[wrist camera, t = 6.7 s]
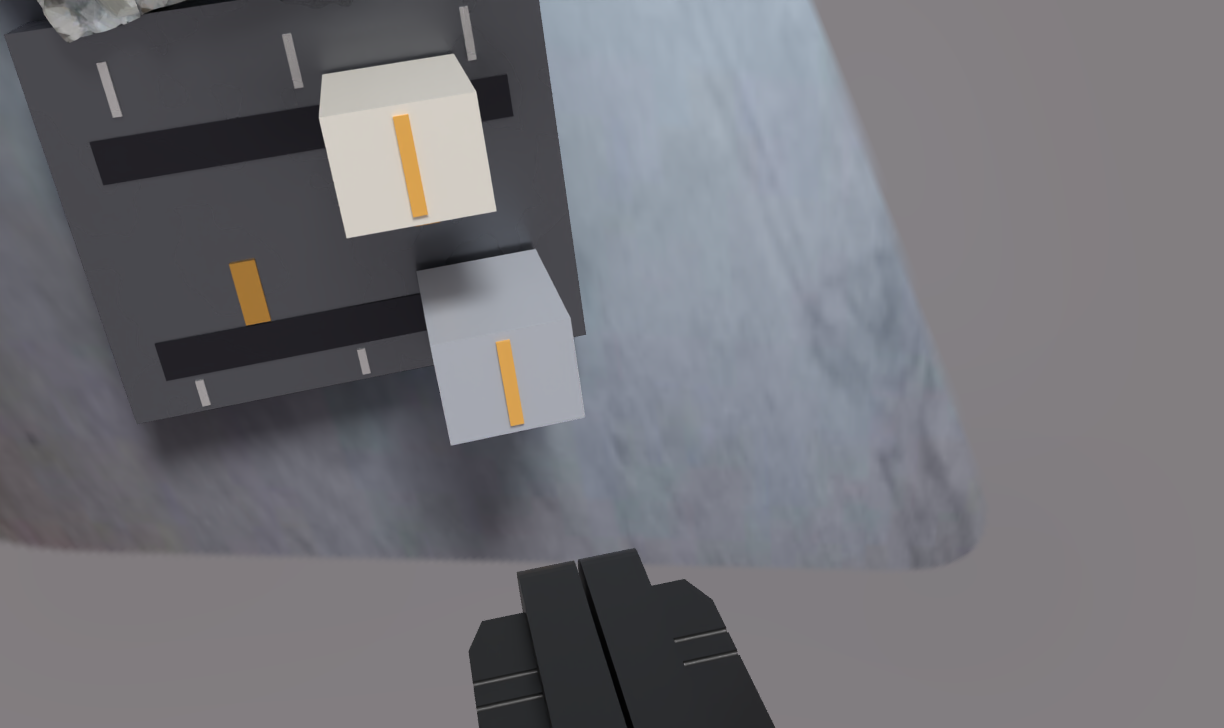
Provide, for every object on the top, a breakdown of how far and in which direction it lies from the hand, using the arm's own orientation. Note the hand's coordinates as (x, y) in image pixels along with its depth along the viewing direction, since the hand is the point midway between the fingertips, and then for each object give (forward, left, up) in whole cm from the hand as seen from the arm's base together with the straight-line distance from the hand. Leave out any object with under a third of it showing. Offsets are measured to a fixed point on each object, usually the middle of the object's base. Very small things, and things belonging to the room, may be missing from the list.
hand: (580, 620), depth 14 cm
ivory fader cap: (-3, -1, -15) cm, 16 cm away
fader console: (-2, -3, -18) cm, 18 cm away
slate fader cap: (+2, 0, -15) cm, 16 cm away
